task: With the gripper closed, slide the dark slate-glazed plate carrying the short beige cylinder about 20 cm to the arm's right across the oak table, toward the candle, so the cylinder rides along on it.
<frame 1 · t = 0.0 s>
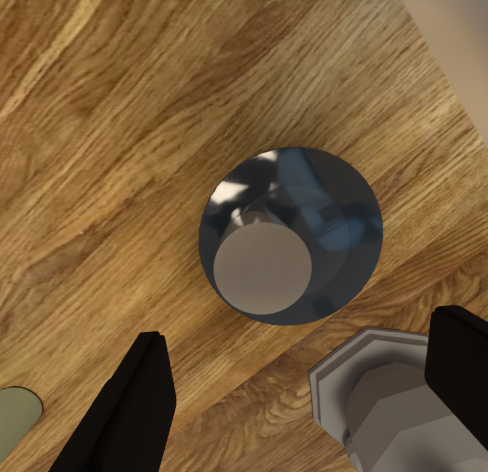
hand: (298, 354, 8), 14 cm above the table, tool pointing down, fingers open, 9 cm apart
candle: (21, 403, 26), on the table
short beige cylinder: (256, 247, 20), point 2 cm above the table, touching plate
plate: (287, 239, 22), on the table, touching short beige cylinder
grey faceted model: (390, 399, 27), on the table
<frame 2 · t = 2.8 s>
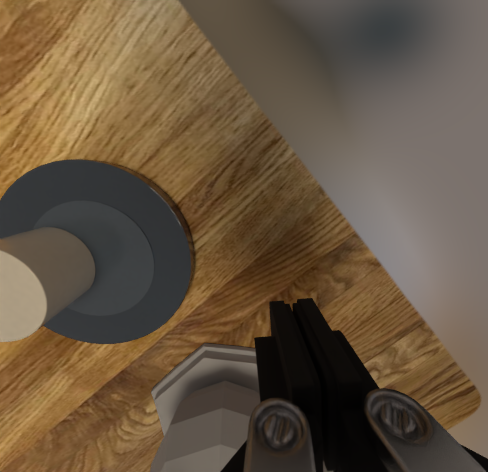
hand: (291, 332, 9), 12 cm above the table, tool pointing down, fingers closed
short beige cylinder: (55, 265, 19), point 2 cm above the table, touching plate
plate: (103, 255, 21), on the table, touching short beige cylinder
grey faceted model: (245, 415, 26), on the table
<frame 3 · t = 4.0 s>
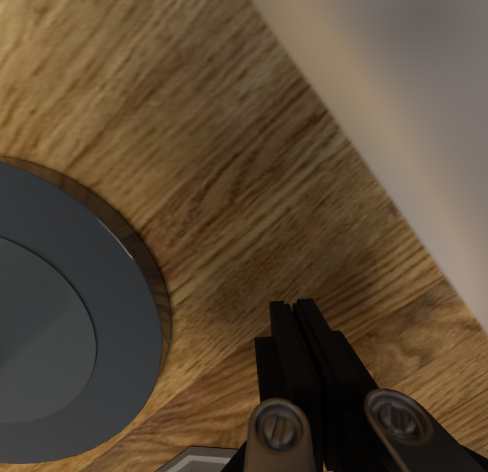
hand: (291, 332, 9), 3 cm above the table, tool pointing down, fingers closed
plate: (16, 315, 12), on the table, touching short beige cylinder
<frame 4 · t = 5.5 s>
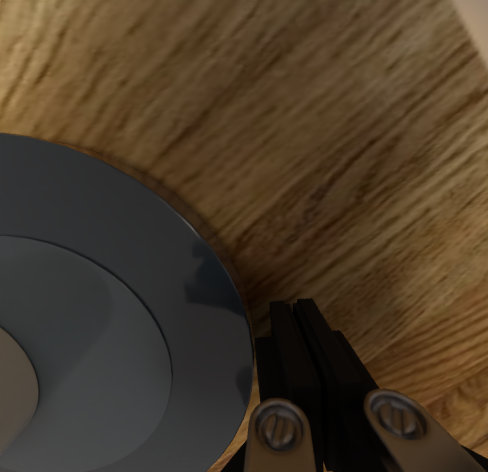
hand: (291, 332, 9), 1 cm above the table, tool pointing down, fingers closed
plate: (64, 340, 10), on the table, touching gripper
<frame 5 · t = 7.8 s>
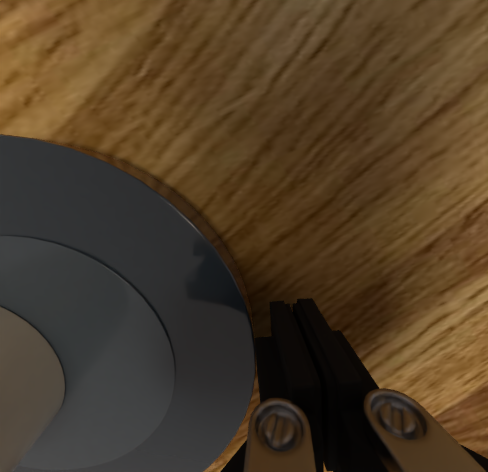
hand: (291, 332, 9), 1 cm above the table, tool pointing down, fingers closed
plate: (68, 338, 10), on the table, touching gripper
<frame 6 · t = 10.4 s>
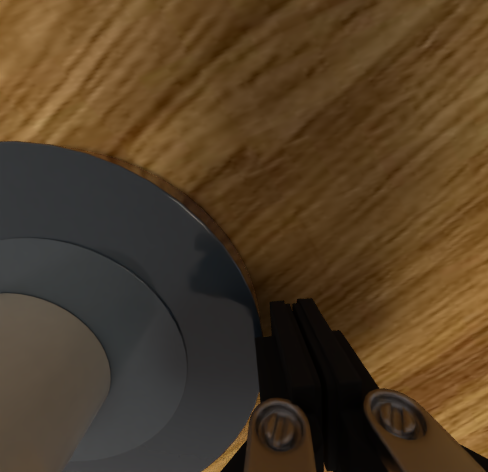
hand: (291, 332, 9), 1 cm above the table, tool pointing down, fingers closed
short beige cylinder: (25, 368, 9), point 2 cm above the table, touching plate
plate: (83, 335, 11), on the table, touching gripper, short beige cylinder
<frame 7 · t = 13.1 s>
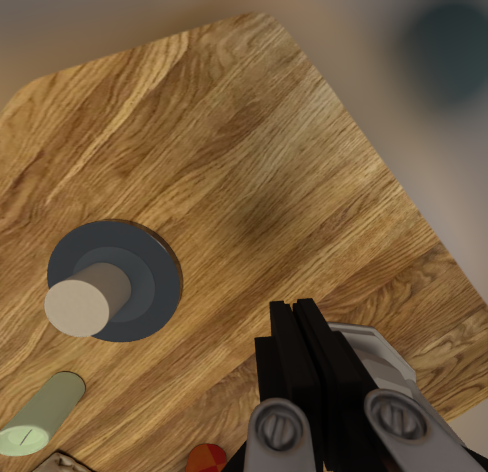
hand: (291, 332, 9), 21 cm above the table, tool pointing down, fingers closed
candle: (68, 384, 34), on the table
coffee cup: (207, 456, 38), on the table
short beige cylinder: (104, 287, 29), point 2 cm above the table, touching plate
plate: (120, 280, 31), on the table, touching short beige cylinder
grey faceted model: (351, 378, 35), on the table
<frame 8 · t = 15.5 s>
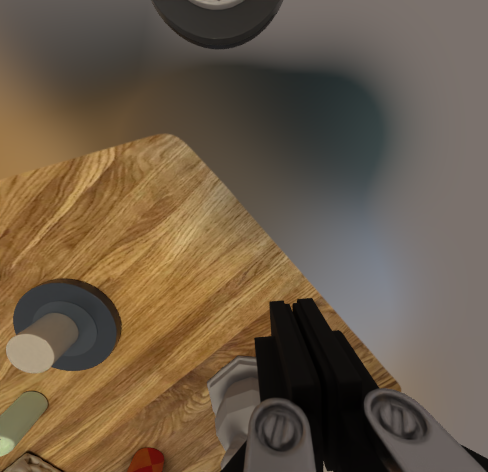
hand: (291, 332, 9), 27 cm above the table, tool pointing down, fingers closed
candle: (35, 400, 43), on the table
coffee cup: (149, 457, 47), on the table
short beige cylinder: (58, 330, 38), point 2 cm above the table, touching plate
plate: (72, 323, 39), on the table, touching short beige cylinder
grey faceted model: (260, 398, 44), on the table
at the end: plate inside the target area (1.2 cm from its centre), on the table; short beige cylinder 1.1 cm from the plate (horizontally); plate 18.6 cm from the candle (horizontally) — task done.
